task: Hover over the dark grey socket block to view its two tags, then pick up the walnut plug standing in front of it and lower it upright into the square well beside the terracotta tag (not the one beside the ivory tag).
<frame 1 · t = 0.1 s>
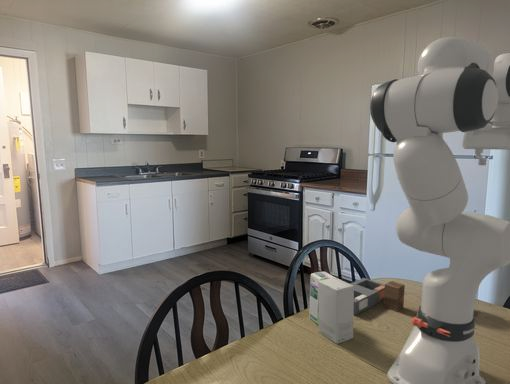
hand: (501, 166, 100), 48 cm above the table, fingers open, 8 cm apart
skincare box: (334, 335, 102), on the table
walnut plug: (393, 307, 119), on the table
socket block: (359, 301, 123), on the table
syrup box: (321, 320, 110), on the table
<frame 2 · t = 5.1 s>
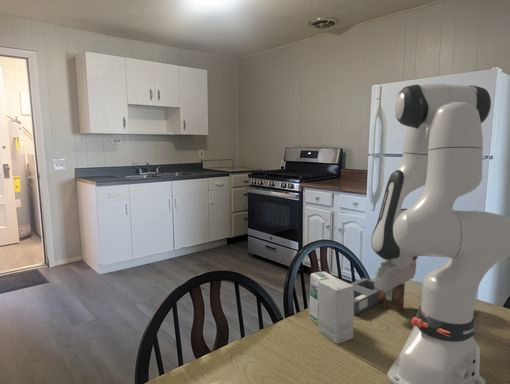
hand: (394, 297, 118), 4 cm above the table, fingers closed on walnut plug, 4 cm apart
walnut plug: (393, 307, 119), on the table, touching gripper
everything else where it was.
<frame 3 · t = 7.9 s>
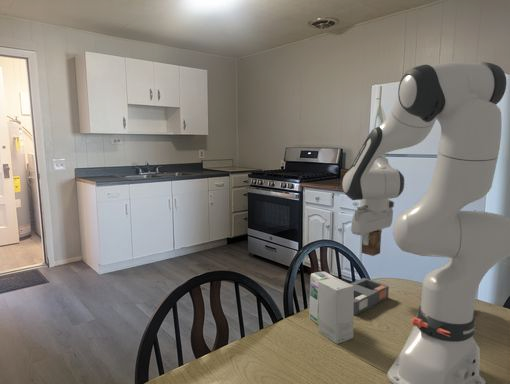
hand: (371, 243, 124), 20 cm above the table, fingers closed on walnut plug, 4 cm apart
walnut plug: (370, 253, 124), point 16 cm above the table, touching gripper
everything else where it was.
when the fingers open (6 cm above the table, at t = 10.7 s): walnut plug drops 1 cm, resting on socket block.
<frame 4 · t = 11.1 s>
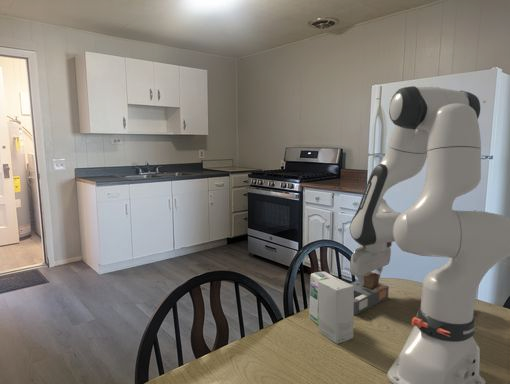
hand: (369, 281, 126), 6 cm above the table, fingers open, 8 cm apart
walnut plug: (368, 295, 126), resting on socket block
everything else where it was.
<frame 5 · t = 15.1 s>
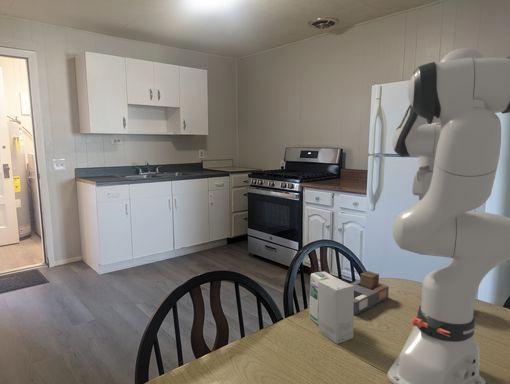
hand: (430, 206, 119), 33 cm above the table, fingers open, 8 cm apart
nothing on the table moved.
at the end: walnut plug 0.0 cm from the target spot on the socket block, point 0.5 cm above the socket block's base; walnut plug tilted 0°; the gripper is holding nothing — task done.
